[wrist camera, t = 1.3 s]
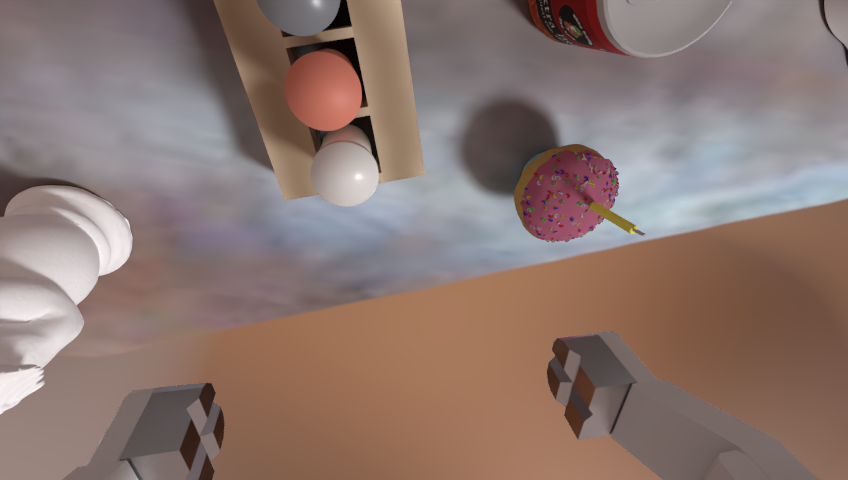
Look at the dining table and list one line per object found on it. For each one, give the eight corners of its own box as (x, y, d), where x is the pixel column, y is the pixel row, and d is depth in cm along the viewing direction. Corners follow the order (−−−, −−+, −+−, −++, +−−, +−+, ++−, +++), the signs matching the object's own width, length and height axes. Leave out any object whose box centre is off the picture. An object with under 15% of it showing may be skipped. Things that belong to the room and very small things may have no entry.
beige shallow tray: (384, -74, 26) (388, -85, 22) (418, 157, 34) (425, 174, 31) (214, -49, 25) (193, -57, 22) (291, 181, 34) (284, 200, 30)
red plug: (353, 38, 26) (352, 46, 21) (366, 104, 28) (368, 124, 23) (288, 48, 26) (273, 58, 21) (307, 114, 28) (297, 136, 23)
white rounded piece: (368, 115, 28) (371, 137, 24) (379, 169, 31) (384, 199, 26) (310, 125, 28) (301, 149, 23) (326, 179, 30) (320, 211, 26)
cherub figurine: (-26, 180, 30) (-667, 459, 11) (136, 145, 31) (-219, 357, 12) (74, 301, 36) (-231, 612, 17) (208, 271, 37) (51, 541, 18)
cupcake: (590, 122, 35) (686, 170, 25) (585, 206, 40) (665, 276, 29) (496, 142, 35) (555, 199, 24) (502, 224, 39) (554, 302, 29)
